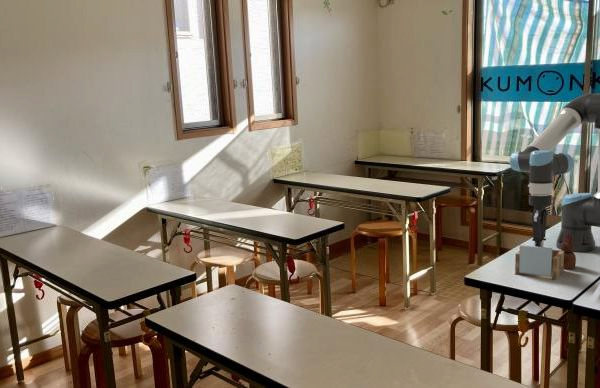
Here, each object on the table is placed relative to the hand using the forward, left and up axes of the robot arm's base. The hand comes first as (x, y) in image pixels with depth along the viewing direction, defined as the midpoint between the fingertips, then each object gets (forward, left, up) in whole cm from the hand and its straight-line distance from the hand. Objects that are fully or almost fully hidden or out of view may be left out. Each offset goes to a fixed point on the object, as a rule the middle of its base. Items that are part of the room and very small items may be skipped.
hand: (538, 258), depth 214 cm
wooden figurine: (-12, +7, -7) cm, 16 cm away
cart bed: (-1, 0, -7) cm, 7 cm away
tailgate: (+5, 0, -6) cm, 7 cm away
